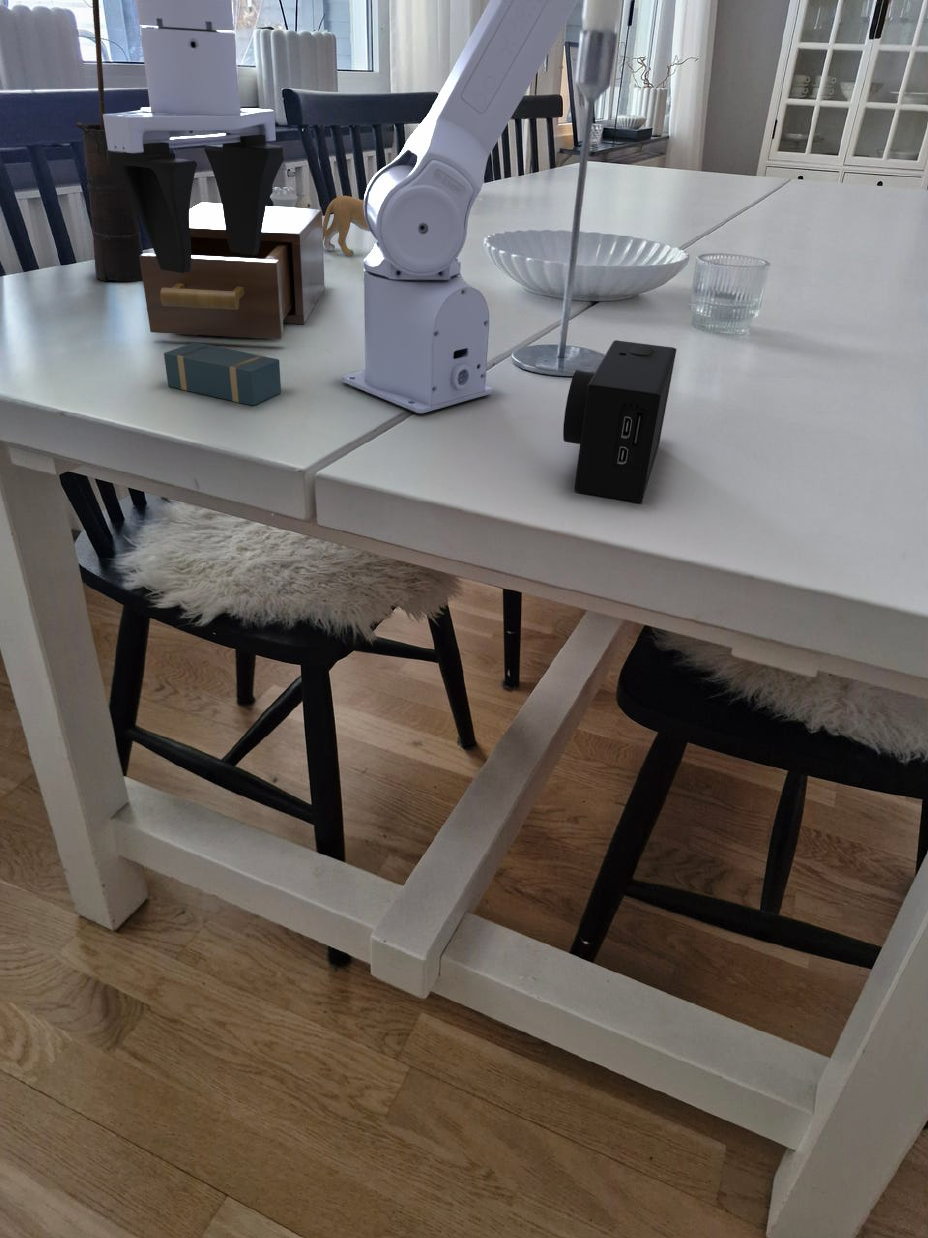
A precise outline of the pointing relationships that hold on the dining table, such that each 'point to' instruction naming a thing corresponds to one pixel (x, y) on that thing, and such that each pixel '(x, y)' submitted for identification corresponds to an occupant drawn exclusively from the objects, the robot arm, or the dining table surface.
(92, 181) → the butter churn
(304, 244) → the cabinet
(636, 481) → the digital camera
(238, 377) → the bundle
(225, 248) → the drawer
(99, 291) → the dining table surface
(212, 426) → the dining table surface
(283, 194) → the rook chess piece
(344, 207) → the lion figurine
